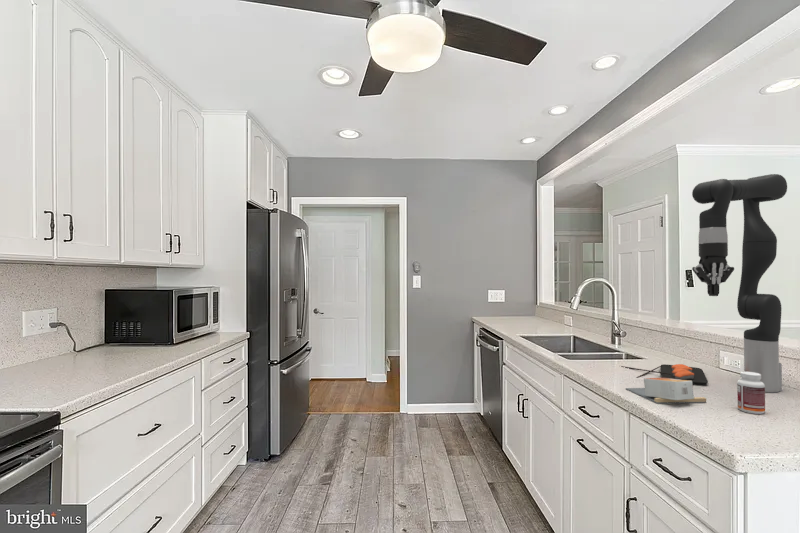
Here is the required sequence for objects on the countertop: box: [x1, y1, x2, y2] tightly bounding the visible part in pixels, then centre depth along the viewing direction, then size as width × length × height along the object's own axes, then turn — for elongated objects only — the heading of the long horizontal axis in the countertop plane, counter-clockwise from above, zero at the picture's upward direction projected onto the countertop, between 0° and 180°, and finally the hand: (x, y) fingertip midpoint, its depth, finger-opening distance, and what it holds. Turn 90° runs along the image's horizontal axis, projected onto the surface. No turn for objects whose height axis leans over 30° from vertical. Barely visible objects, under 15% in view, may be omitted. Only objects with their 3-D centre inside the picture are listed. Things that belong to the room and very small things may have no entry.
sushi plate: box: [620, 363, 709, 385], centre depth 167 cm, size 29×30×4 cm
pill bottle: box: [736, 371, 766, 415], centre depth 121 cm, size 6×6×11 cm
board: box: [625, 387, 707, 405], centre depth 136 cm, size 16×16×1 cm
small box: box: [643, 377, 695, 400], centre depth 130 cm, size 8×6×10 cm
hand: (713, 295), depth 134 cm, fingers closed
